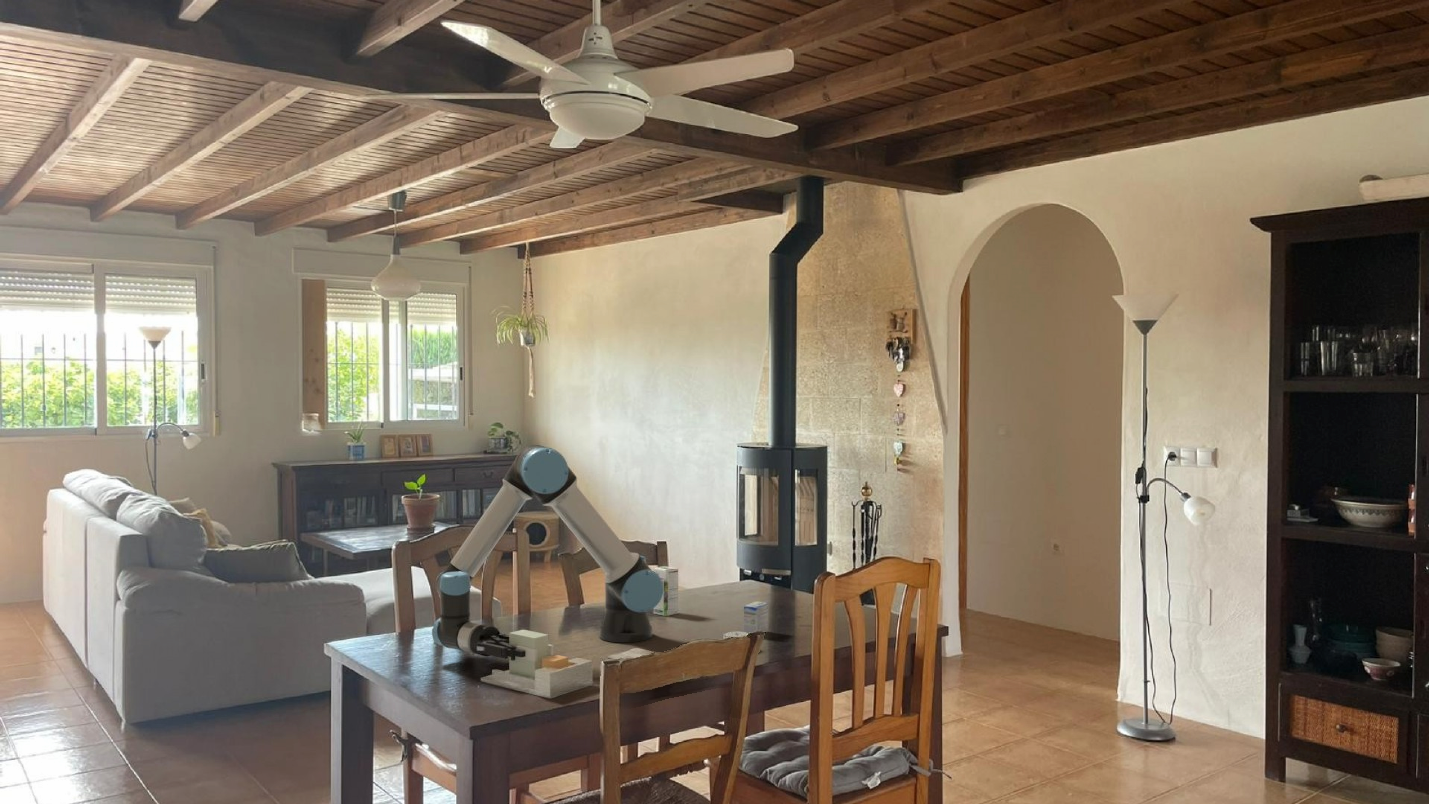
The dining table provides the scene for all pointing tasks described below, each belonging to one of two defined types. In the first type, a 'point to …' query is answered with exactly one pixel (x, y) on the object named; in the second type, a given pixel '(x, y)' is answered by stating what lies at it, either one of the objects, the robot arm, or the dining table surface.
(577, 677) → the rail plate
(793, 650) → the dining table surface
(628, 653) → the washcloth
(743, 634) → the mechanical component
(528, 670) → the block
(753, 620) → the medicine box
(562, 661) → the orange rectangular block
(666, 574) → the syrup box
